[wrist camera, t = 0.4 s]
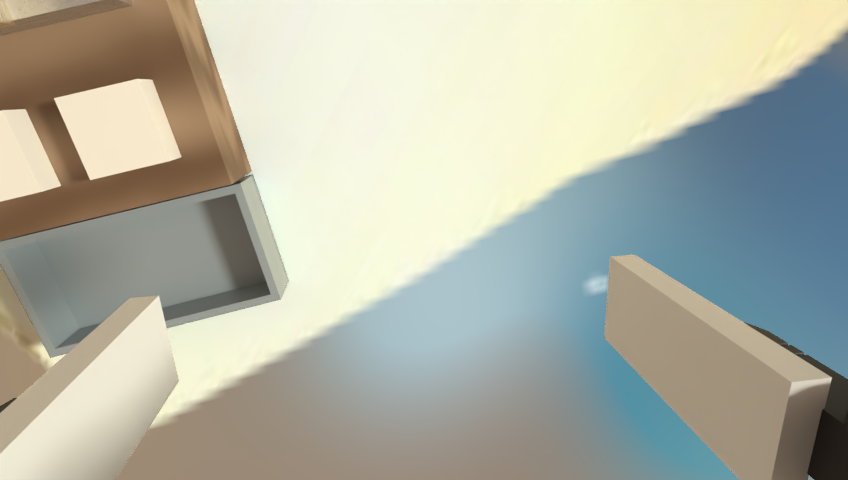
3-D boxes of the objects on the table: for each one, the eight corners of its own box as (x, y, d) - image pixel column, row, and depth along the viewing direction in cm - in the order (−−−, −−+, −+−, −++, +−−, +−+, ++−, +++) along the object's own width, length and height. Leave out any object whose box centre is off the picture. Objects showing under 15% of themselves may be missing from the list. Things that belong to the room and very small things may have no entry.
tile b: (73, 98, 31) (53, 98, 29) (152, 79, 31) (138, 78, 29) (106, 175, 32) (90, 180, 30) (181, 157, 32) (169, 160, 30)
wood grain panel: (-84, 6, 33) (-178, -12, 28) (176, -52, 34) (137, -81, 28) (25, 225, 38) (-35, 248, 32) (251, 171, 39) (231, 184, 33)
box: (27, 229, 38) (-10, 244, 34) (252, 174, 39) (240, 183, 35) (79, 333, 41) (50, 357, 37) (288, 280, 42) (280, 299, 38)
